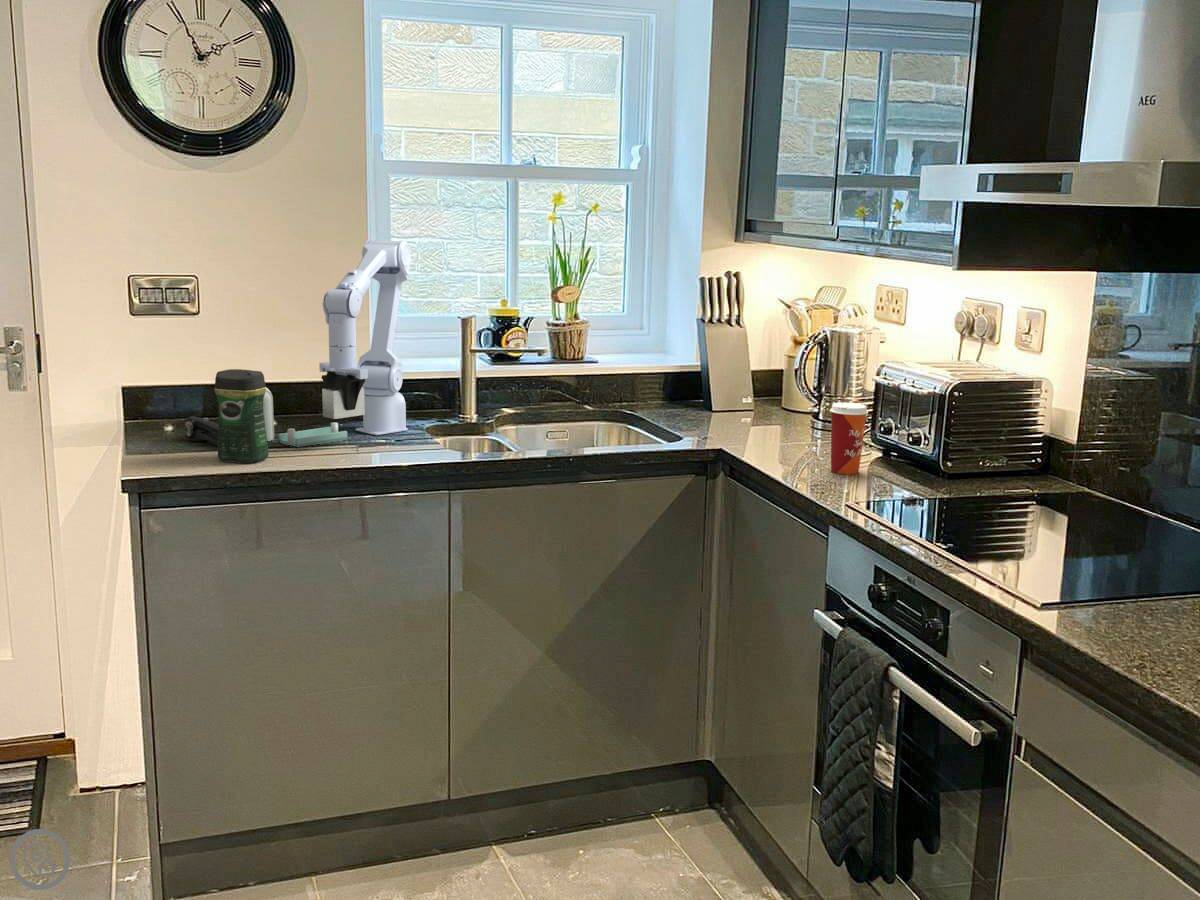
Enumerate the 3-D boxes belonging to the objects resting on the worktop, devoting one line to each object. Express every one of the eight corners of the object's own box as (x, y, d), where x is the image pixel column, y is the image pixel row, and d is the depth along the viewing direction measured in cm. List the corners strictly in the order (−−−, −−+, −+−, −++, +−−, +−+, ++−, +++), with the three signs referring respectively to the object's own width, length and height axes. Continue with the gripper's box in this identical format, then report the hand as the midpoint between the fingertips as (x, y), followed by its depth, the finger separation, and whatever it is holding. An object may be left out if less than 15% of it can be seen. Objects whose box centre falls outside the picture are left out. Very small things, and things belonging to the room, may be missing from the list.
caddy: (328, 435, 263) (328, 420, 263) (347, 440, 259) (347, 424, 258) (278, 443, 254) (278, 427, 253) (297, 448, 249) (297, 432, 249)
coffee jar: (274, 457, 240) (271, 368, 236) (253, 465, 232) (250, 373, 228) (233, 454, 242) (229, 365, 238) (211, 461, 235) (207, 370, 231)
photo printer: (239, 435, 261) (237, 381, 258) (257, 433, 264) (255, 379, 261) (258, 443, 253) (256, 387, 251) (277, 441, 256) (275, 385, 253)
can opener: (177, 440, 255) (176, 415, 254) (206, 436, 260) (205, 411, 259) (218, 453, 243) (217, 427, 242) (248, 449, 248) (247, 423, 247)
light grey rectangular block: (353, 412, 255) (352, 384, 254) (364, 414, 253) (364, 387, 251) (322, 416, 249) (322, 388, 248) (334, 419, 247) (333, 390, 245)
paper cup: (856, 477, 235) (861, 409, 233) (820, 472, 239) (824, 405, 237) (869, 470, 242) (874, 404, 239) (834, 465, 246) (838, 400, 243)
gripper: (306, 343, 250) (308, 405, 252) (347, 350, 240) (349, 415, 243) (334, 341, 255) (335, 402, 258) (375, 348, 245) (376, 411, 248)
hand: (343, 408), depth 251 cm, fingers closed on light grey rectangular block, 4 cm apart
